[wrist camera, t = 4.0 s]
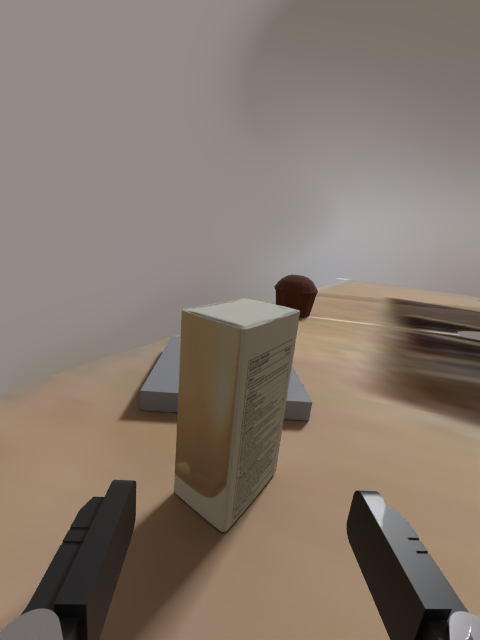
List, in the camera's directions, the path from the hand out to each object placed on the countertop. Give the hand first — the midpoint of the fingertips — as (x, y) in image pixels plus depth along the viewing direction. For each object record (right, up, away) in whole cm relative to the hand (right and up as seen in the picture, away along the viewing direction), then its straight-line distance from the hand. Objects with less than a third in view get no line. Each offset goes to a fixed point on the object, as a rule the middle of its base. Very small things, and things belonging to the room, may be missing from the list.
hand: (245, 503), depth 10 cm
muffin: (+14, +8, +66) cm, 68 cm away
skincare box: (-1, -5, +9) cm, 10 cm away
